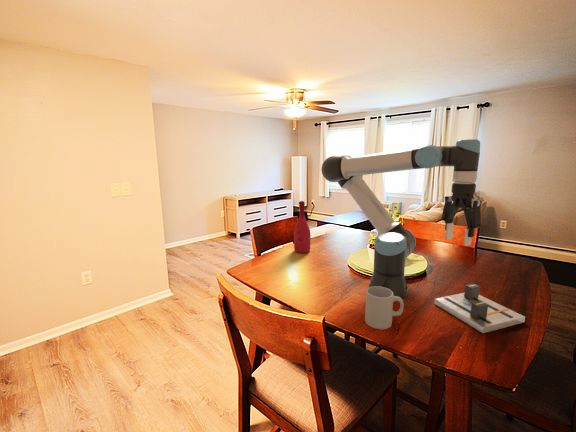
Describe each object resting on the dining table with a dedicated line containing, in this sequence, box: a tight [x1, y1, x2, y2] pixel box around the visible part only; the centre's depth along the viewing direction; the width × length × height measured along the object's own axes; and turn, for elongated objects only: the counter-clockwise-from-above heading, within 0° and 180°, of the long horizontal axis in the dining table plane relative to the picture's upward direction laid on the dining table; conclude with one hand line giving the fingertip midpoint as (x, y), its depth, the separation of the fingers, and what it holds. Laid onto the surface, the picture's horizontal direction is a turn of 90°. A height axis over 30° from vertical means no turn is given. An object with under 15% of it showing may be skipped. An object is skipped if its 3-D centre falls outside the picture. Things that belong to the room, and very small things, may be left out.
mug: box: [364, 286, 405, 330], centre depth 92 cm, size 12×8×11 cm
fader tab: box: [463, 283, 481, 299], centre depth 103 cm, size 4×2×5 cm, turn 107°
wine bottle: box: [293, 200, 311, 254], centre depth 163 cm, size 10×10×30 cm
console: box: [433, 292, 526, 334], centre depth 97 cm, size 18×19×7 cm
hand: (457, 241), depth 108 cm, fingers open, 8 cm apart
